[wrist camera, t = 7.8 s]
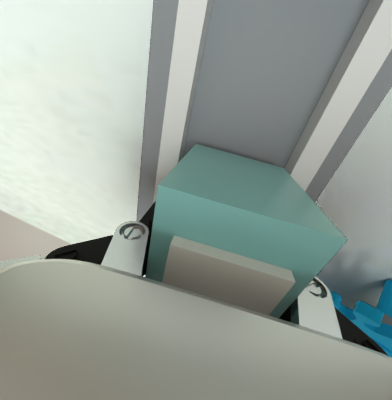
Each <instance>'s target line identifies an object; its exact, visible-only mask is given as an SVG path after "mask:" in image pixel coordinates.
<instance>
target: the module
mask: <svg viewBox="0 0 392 400" xmlns="http://www.w3.org/2000/svg"><path fill="white" fill-rule="evenodd" d="M347 240H348V239H347V238H346V237H345V236H344V235H343V234H342V233H341V232H340V230H339V229H338V228H337V227H336V226H335V225H334V224H333V223H332V221H331V220H330V219H329V218H328V217H327V216H326V215H325V214H324V212H323V211H322V210H321V209H320V208H319V207H318V206H317V205H316V204H315V202H314V201H313V200H312V199H311V198H310V197H309V196H308V195H307V193H306V192H305V191H304V190H303V189H302V188H301V187H300V186H299V184H298V183H297V182H296V181H295V180H294V179H293V178H292V177H291V175H290V174H289V173H288V172H287V171H286V170H285V169H284V168H282V167H278V166H275V165H271V164H268V163H264V162H260V161H257V160H253V159H250V158H246V157H242V156H239V155H235V154H232V153H228V152H224V151H221V150H217V149H214V148H210V147H206V146H203V145H199V144H195V146H194V147H193V148H192V149H191V150H190V151H189V152H188V153H187V154H186V155H185V156H184V157H183V158H182V160H181V161H180V162H179V163H178V164H177V165H176V166H175V167H174V168H173V169H172V170H171V171H170V172H169V174H168V175H167V176H166V177H165V178H164V179H163V180H162V181H161V182H160V183H159V184H158V189H157V196H156V203H155V211H154V218H153V225H152V233H151V240H150V247H149V255H148V262H147V269H146V278H149V279H152V280H156V281H159V282H162V283H165V284H169V285H172V286H175V287H178V288H182V289H185V290H188V291H192V292H195V293H198V294H201V295H205V296H208V297H211V298H214V299H218V300H221V301H224V302H227V303H230V304H234V305H237V306H240V307H243V308H246V309H250V310H253V311H256V312H259V313H262V314H266V315H269V316H272V317H275V318H278V319H279V317H280V316H281V315H282V314H283V313H284V312H285V311H286V310H287V308H288V307H289V306H290V305H291V304H292V303H293V302H294V300H295V299H296V298H297V297H298V296H299V295H300V294H301V293H302V291H303V290H304V289H305V288H306V287H307V286H308V285H309V283H310V282H311V281H312V280H313V279H314V278H315V277H316V275H317V274H318V273H319V272H320V271H321V270H322V269H323V268H324V266H325V265H326V264H327V263H328V262H329V261H330V260H331V258H332V257H333V256H334V255H335V254H336V253H337V252H338V250H339V249H340V248H341V247H342V246H343V245H344V244H345V243H346V241H347Z"/></svg>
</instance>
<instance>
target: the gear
mask: <svg viewBox="0 0 392 400" xmlns="http://www.w3.org/2000/svg"><path fill="white" fill-rule="evenodd" d="M329 291H330V290H329ZM330 293H331V296H332V300H333V304H334V307H335V308H336V309H337V310H339V311H340V312H341V313H342V314H343V315H344V316H346V317H347V318H348V319H349V320H350V321H351V322H353V323H354V324H355V325H356V326H357V327H358V328H360V329H361V330H362V331H363V332H364V333H365V334H367V335H368V336H369V337H370V338H371V339H372V340H374V341H375V342H376V343H377V344H378V345H379V346H380V347H381V348H382V349H383V350H384V351H385V352H386V353H387V355H388V356H389V357H392V281H391V280H386V282H385V285H384V288H383V290H382V293H381V296H380V299H379V302H378V305H377V308H374V307H373V306H371V305H369V304H367V303H364V302H362V301H360V300H358V301H357V302H356V305H355V307H354V310H352V309H349V308H347V307H346V306H344V305H343V304H341V301H342V297H341V296H340V295H338V294H337V293H335V292H332V291H330Z"/></svg>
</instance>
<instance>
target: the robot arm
mask: <svg viewBox="0 0 392 400" xmlns="http://www.w3.org/2000/svg"><path fill="white" fill-rule="evenodd" d="M155 203H156V201H155V202H154V203H153V205H152V206H151V207H150V208H149V210H148V211H147V212H146V213H145V215H144V216H143V217H142V218H141V220H140V221H139V222H136V221H129V222H125V223H122V224H121V225H119V226H118V227H117V229H116V231H115V233H114V235H111V236H107V237H103V238H98V239H94V240H90V241H85V242H81V243H76V244H72V245H68V246H64V247H61V248H58V249H56V250H54V251H52V252H51V253H50V254H48V255H47V256H46V257H42V258H41V255H36V256H30V257H24V258H19V259H13V260H8V261H1V262H0V400H392V357H389V356H388V355H387V353H386V352H385V351H384V350H383V349H382V348H381V347H380V346H379V345H378V344H377V343H376V342H375V341H374V340H372V339H371V338H370V337H369V336H368V335H367V334H365V333H364V332H363V331H362V330H361V329H360V328H358V327H357V326H356V325H355V324H354V323H353V322H351V321H350V320H349V319H348V318H347V317H346V316H344V315H343V314H342V313H341V312H340V311H339V310H337V309H336V308H335V307H334V304H333V300H332V296H331V293H330V291H329V289H328V288H327V286H326V285H325V284H324V283H323V282H322V281H321V280H320V279H319V278H317V277H315V278H314V279H313V280H312V281H311V282H310V283H309V285H308V286H307V287H306V288H305V289H304V290H303V291H302V293H301V294H300V295H299V296H298V297H297V298H296V299H295V300H294V302H293V303H292V304H291V305H290V306H289V307H288V308H287V310H286V311H285V312H284V313H283V314H282V315H281V316H280V317H279V319H278V318H275V317H272V316H269V315H266V314H262V313H259V312H256V311H253V310H250V309H246V308H243V307H240V306H237V305H234V304H230V303H227V302H224V301H221V300H218V299H214V298H211V297H208V296H205V295H201V294H198V293H195V292H192V291H188V290H185V289H182V288H178V287H175V286H172V285H169V284H165V283H162V282H159V281H156V280H152V279H149V278H146V277H143V275H146V269H147V262H148V255H149V247H150V240H151V233H152V225H153V218H154V211H155Z"/></svg>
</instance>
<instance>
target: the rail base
mask: <svg viewBox="0 0 392 400" xmlns="http://www.w3.org/2000/svg"><path fill="white" fill-rule="evenodd" d="M391 87H392V0H153V13H152V26H151V39H150V52H149V65H148V78H147V91H146V104H145V117H144V130H143V143H142V156H141V169H140V182H139V195H138V208H137V221H136V222H139V221H140V220H141V218H142V217H143V216H144V215H145V213H146V212H147V211H148V210H149V208H150V207H151V206H152V205H153V203H154V202H155V201H156V196H157V189H158V184H159V183H160V182H161V181H162V180H163V179H164V178H165V177H166V176H167V175H168V174H169V172H170V171H171V170H172V169H173V168H174V167H175V166H176V165H177V164H178V163H179V162H180V161H181V160H182V158H183V157H184V156H185V155H186V154H187V153H188V152H189V151H190V150H191V149H192V148H193V147H194V146H195V144H199V145H203V146H206V147H210V148H214V149H217V150H221V151H224V152H228V153H232V154H235V155H239V156H242V157H246V158H250V159H253V160H257V161H260V162H264V163H268V164H271V165H275V166H278V167H282V168H284V169H285V170H286V171H287V172H288V173H289V174H290V175H291V177H292V178H293V179H294V180H295V181H296V182H297V183H298V184H299V186H300V187H301V188H302V189H303V190H304V191H305V192H306V193H307V195H308V196H309V197H310V198H311V199H312V200H313V201H314V202H315V201H316V200H317V198H318V197H319V195H320V194H321V192H322V191H323V189H324V188H325V186H326V185H327V183H328V182H329V180H330V179H331V177H332V176H333V174H334V173H335V171H336V170H337V168H338V167H339V165H340V164H341V162H342V161H343V159H344V158H345V156H346V155H347V153H348V152H349V150H350V149H351V147H352V146H353V144H354V143H355V141H356V139H357V138H358V136H359V135H360V133H361V132H362V130H363V129H364V127H365V126H366V124H367V123H368V121H369V120H370V118H371V117H372V115H373V114H374V112H375V111H376V109H377V108H378V106H379V105H380V103H381V102H382V100H383V99H384V97H385V96H386V94H387V93H388V91H389V90H390V88H391Z"/></svg>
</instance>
